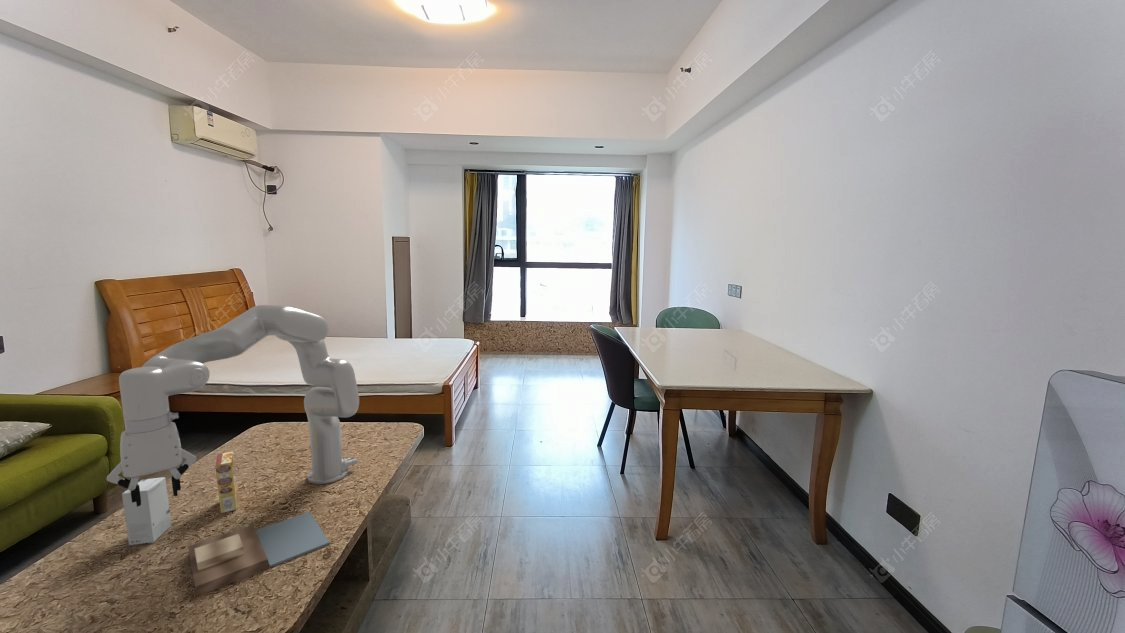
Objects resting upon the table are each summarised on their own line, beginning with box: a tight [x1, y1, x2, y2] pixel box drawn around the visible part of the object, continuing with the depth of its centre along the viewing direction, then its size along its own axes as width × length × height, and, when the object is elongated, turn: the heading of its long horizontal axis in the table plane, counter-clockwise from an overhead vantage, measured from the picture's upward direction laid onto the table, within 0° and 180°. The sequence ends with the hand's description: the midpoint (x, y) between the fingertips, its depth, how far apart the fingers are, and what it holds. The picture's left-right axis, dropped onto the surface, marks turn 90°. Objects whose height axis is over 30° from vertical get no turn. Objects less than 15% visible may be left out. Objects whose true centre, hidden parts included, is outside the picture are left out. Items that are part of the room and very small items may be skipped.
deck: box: [187, 524, 270, 597], centre depth 115 cm, size 14×19×2 cm
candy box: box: [214, 451, 239, 514], centre depth 139 cm, size 9×4×15 cm, turn 33°
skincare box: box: [121, 476, 172, 546], centre depth 124 cm, size 8×6×15 cm
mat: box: [255, 511, 331, 568], centre depth 124 cm, size 14×19×1 cm
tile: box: [195, 534, 244, 571], centre depth 113 cm, size 9×7×2 cm
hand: (157, 498), depth 104 cm, fingers open, 5 cm apart
